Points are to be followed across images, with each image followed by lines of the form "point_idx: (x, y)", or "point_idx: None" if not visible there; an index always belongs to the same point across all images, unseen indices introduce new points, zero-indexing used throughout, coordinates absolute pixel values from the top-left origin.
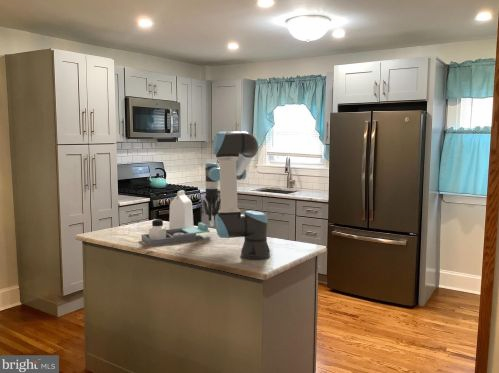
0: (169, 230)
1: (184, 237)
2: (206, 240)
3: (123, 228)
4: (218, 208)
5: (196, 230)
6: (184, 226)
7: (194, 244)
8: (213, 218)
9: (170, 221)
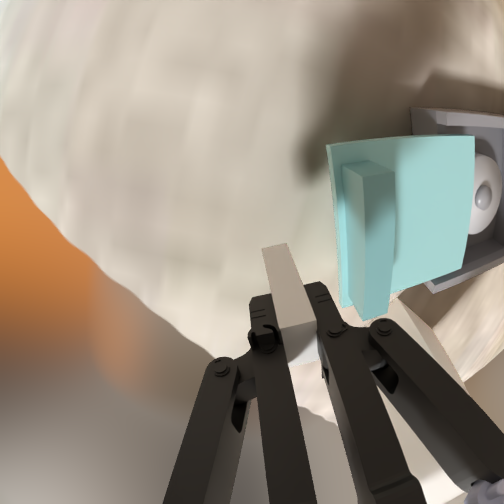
0: (498, 255)
1: (484, 113)
2: (349, 79)
3: (476, 366)
4: (193, 441)
5: (422, 193)
6: (417, 326)
7: (431, 34)
8: (278, 299)
9: (451, 363)
